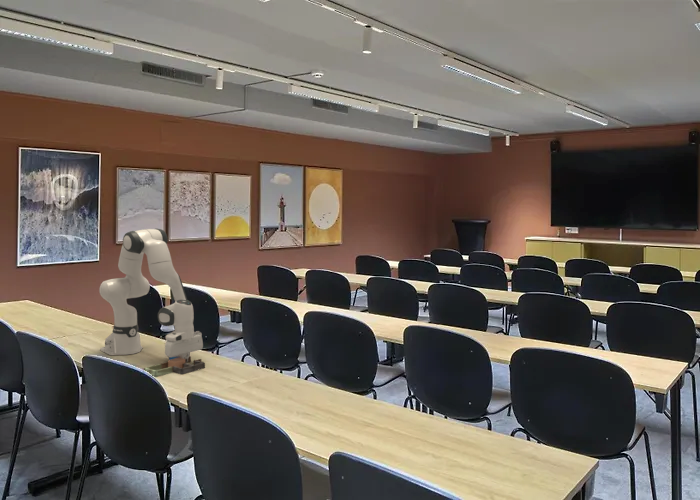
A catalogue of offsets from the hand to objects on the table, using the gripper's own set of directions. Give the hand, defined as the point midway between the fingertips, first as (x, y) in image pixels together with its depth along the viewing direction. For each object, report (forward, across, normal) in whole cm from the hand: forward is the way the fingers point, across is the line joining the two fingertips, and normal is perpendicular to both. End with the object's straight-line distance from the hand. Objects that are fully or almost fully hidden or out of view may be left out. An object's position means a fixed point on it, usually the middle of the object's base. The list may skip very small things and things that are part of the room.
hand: (184, 362), depth 279 cm
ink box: (+2, -4, -11) cm, 12 cm away
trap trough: (+2, +7, +3) cm, 7 cm away
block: (+2, +5, 0) cm, 5 cm away
